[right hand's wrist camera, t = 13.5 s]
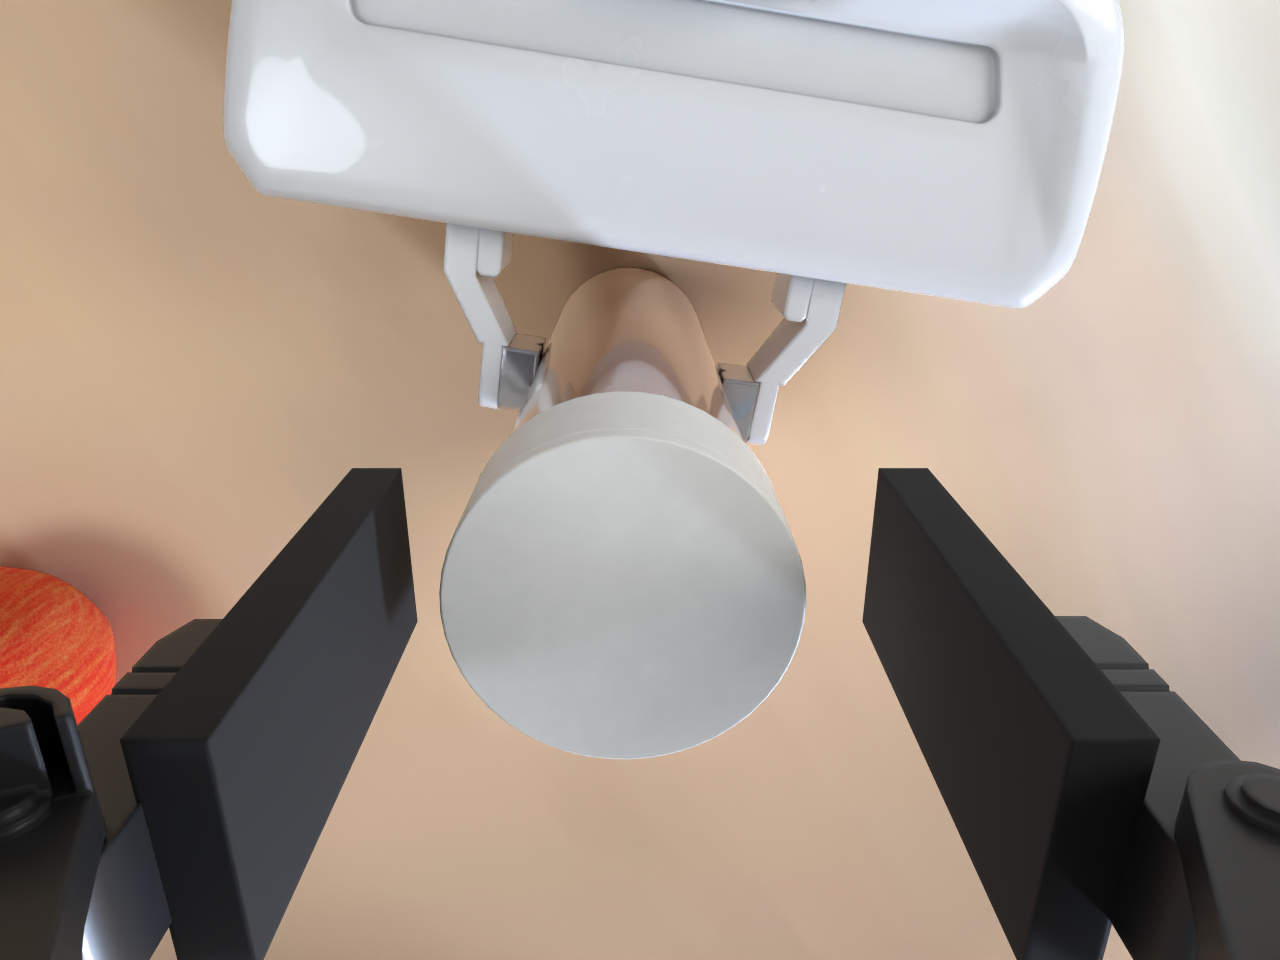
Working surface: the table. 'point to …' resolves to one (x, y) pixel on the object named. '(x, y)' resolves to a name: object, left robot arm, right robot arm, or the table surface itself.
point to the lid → (623, 579)
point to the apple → (54, 639)
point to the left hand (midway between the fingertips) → (624, 421)
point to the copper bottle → (628, 347)
